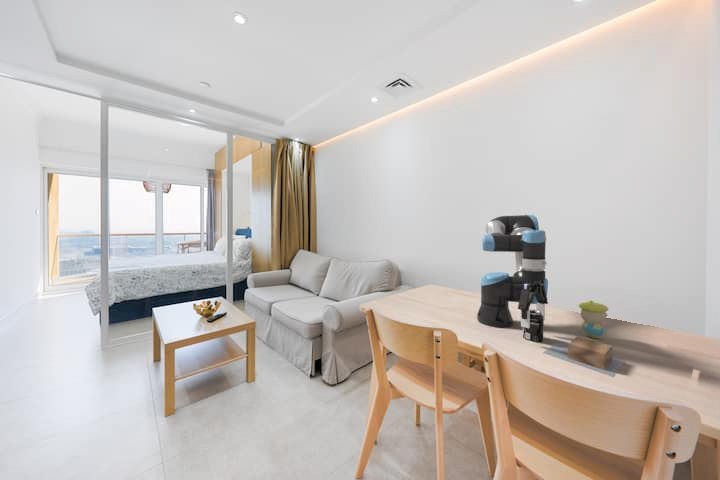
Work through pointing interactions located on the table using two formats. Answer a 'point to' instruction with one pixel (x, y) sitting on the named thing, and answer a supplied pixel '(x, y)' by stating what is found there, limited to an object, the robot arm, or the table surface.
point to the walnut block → (590, 352)
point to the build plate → (561, 352)
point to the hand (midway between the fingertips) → (533, 323)
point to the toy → (593, 318)
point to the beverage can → (535, 327)
